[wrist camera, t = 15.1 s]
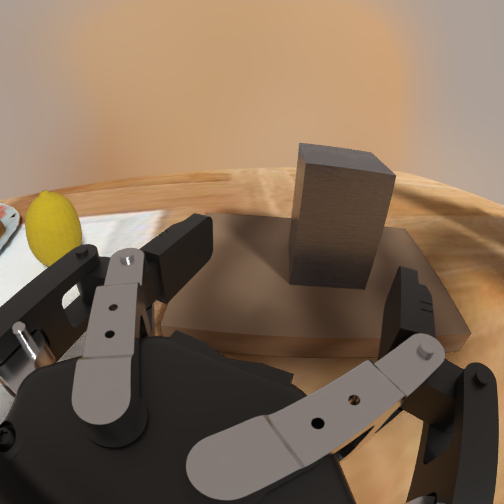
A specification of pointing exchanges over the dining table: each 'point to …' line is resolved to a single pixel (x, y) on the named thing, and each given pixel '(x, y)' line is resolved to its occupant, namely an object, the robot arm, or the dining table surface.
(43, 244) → the lemon
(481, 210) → the dining table surface
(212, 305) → the flat brown board
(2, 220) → the food on plate
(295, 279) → the dark grey box
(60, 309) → the robot arm
